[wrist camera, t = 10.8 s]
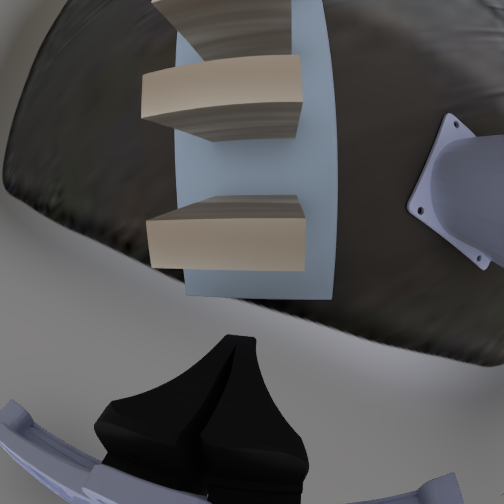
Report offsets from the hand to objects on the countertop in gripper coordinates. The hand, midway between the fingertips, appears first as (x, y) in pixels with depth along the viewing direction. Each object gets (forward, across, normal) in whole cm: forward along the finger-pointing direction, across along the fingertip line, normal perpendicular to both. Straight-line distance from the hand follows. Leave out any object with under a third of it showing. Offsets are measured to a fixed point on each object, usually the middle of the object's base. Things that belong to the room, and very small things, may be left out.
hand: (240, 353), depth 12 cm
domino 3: (+6, 0, -6) cm, 9 cm away
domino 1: (+6, +1, -16) cm, 17 cm away
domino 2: (+6, +1, -11) cm, 12 cm away
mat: (+7, +1, -16) cm, 17 cm away
